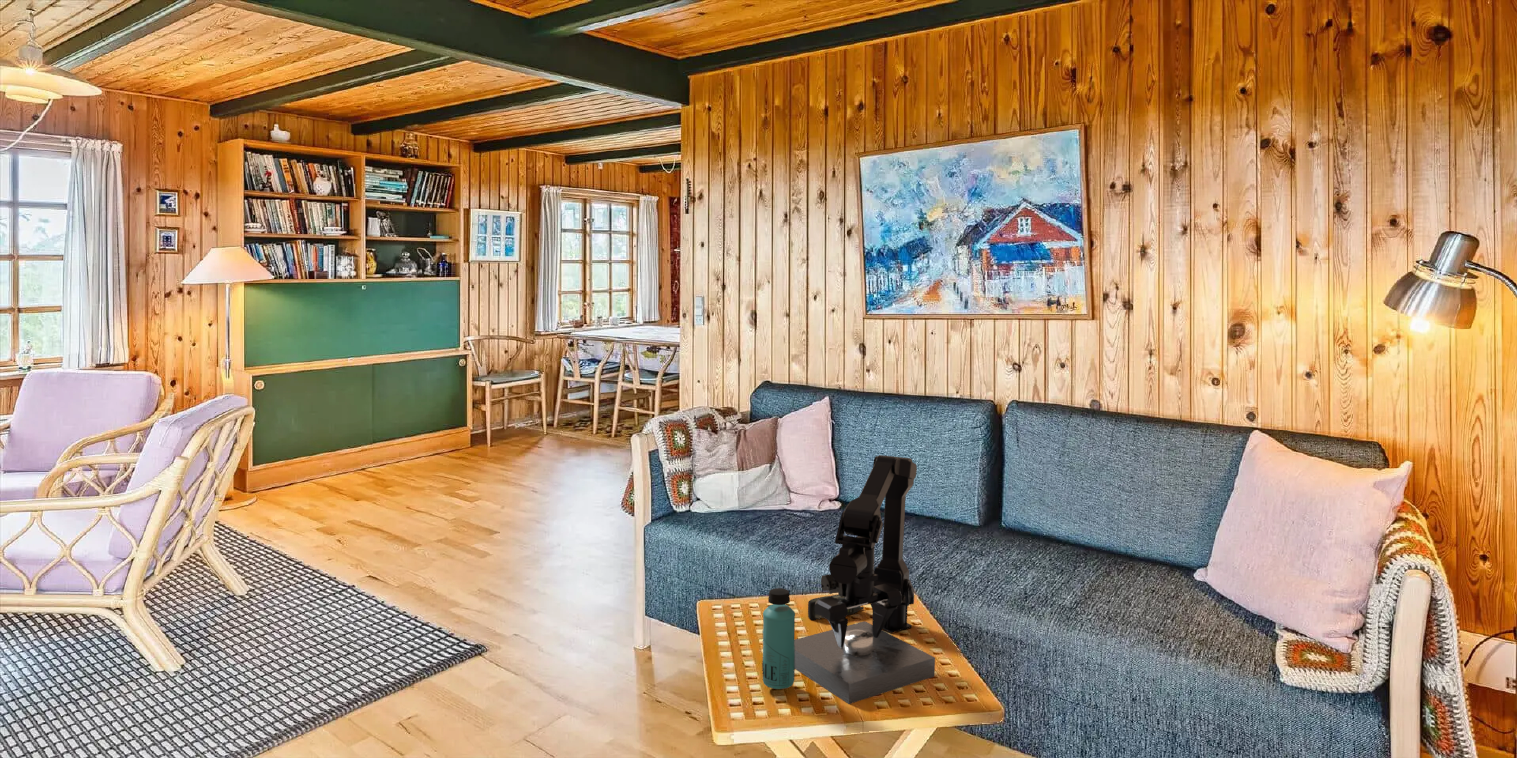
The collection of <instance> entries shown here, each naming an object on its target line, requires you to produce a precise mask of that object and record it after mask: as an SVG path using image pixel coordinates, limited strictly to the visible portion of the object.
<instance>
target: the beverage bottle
mask: <svg viewBox="0 0 1517 758" xmlns="http://www.w3.org/2000/svg"><path fill="white" fill-rule="evenodd" d="M767 600H768V603H769V604H770V605H768V606H767V607H766V608H765V609H764V610H763V613H762V617H763V618H762V620H763V621H762V622H763V624H762V660H761V662H762V663H761V668H762V669H761V675H762V678H761V679H762V682H763V684H764V685H765V686H766V688H767V687H768V688H770V689H775V690H783V689H788V688H790V687H792V686H793V685H794V684H795V683H794V682H795V681H796V679H795V678H796V676H795V668H794V666H795V647H794V640H795V631H796V630H795V629H796V627H795V625H796V624H795V623H796V622H795V620H796V618H795V617H796V612H795V611H794V610H793V608H791V606H789V605H787V604H789V603H790V602H791V599H790V591H789V590H788V589H786V588H783V587H782V588H781V587H777V588H771V589H770V590H769V592H768V599H767Z"/></svg>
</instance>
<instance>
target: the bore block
mask: <svg viewBox="0 0 1517 758" xmlns="http://www.w3.org/2000/svg"><path fill="white" fill-rule="evenodd" d="M849 630H864V631H868V632H870V633H871V634H872V635H873V630H872V624H871V623H869V622H868V621H866V620H864V621H861V622H856V623H853V624H849V625H848V624H847V630H846V631H849ZM794 647H795V666H794V670H795V671H798V672H799V673H801V674H802V675H803V676H805V677H806V678H808V679H809V680H811V681H813V682H814V683H816V684H817V685H819V686H821V687H822V688H824V689H825V690H826V691H828V692H830V693H831V694H833V695H834V696H836V697H837V698H839V699H840V700H842V701H843V702H845V703H846V704H848V705H850V704H853V703H857V702H860V701H863V700H866V699H869V698H871V697H875V696H880V695H882V694H885V693H887V692H891V691H894V690H897V689H900V688H903V687H906V686H911V685H912V684H915V683H918V682H921V681H924V680H927V679H928V680H929V679H931V678H934V677H935V673H936V672H935V669H936V657H935V656H933V655H931V654H929V653H927V652H925V651H923V650H921V649H919V648H917V647H916V646H913V645H912V644H909V643H907V642H906V641H904V640H902V639H900V638H898V637H896V636H894V635H892V633H890V632H888V631H886V630H884V629H882V631H881V632H880V634H879V636H878V638H875V637H873V651H872V653H870V654H868V655H864V656H858V657H855V656H853V655H851V654H848V653H846V652H845V651H844V650H843V647H842V648H840V647H839V646H838V644H837V641H836V638H835V635H834V633H833V630H832V629H830V630H826V631H822V632H818V633H814V634H811V635H807V636H803V637H800V638H796V639H795V638H794Z"/></svg>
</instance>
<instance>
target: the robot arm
mask: <svg viewBox="0 0 1517 758" xmlns="http://www.w3.org/2000/svg"><path fill="white" fill-rule="evenodd" d="M917 467H918V466H917V464H916V463H915V462H913V459H912V458H909V457H901V456H900V457H899V456H891V455H881V454H880V455H876V456H875V457H874V459H873V464H872V468H871V471H870V473H869V475H868V478H867V479H866V481H865V484H864V486H863V488H862V490H861V492H860V495H859V496H858V497H856V498H853V499H852V500H850V501H849V503H848V504H847V505H846V507H845V509H844V510H843V512H842V513H841V516H840V519H839V523H838V527H837V532H836V536H835V540H834V543H835V544H838V545H841V546H840V548H839V550H838V554H837V555H835V556H834V557H833V558H832V559H831V560H830V563H829V567H828V570H829V574H823V575H821V577H820V578H821V579H820V587H821V589H822V591H824V592H828V594H829V595H830V596H831V597H827V598H823V599H818V600H817V601H816V602H815V613H816V614H818V615H820V616H822V617H823V618H824V619H825V620H827V621H828V623H829V625H830V627H831V630H833V633H834V635H835V638H836V641H837V644H838V646H839V647H840V648H842V647H843V645H844V641H845V636H846V630H847V626H848V623H849V618H846V617H847V616H848V615H847V614H848V609H851V608H855V607H859V606H861V607H864V606H866V605H870V608H871V609H872V624H871V625H872V630H873V637H875V638H878V636H879V634H880V632H881V631H882V630H883V631H885V632H887V633H889V634H893V633H896V632H900V631H904V630H908V629H911V628H912V624H911V623H908V607H909V606H910V605H914V603H915V589H914V585H913V583H912V581H911V579H910V570H909V567H908V566H907V564H906V562H905V560H904V558H903V554H904V535H905V534H904V533H905V518H906V517H905V514H906V497H907V495H908V493H909V492H910V490H911V489H912V488H913V486H914V482H915V481H914V480H915V479H916V478H917V471H918V469H917ZM883 502H884V511H883V513H884V514H883V521H882V516H881V510H880V509H881V508H882V505H883ZM882 529H883V532H882ZM881 533H883V534H882V554H881V555H882V557H881V560H880V561H879V563H878V565H876V567H875V546H876V544H879V543H878V542H879V539H880V537H881ZM845 534H846V535H845ZM835 593H838V594H837V595H839V596H841V597H845V599H846V600H842V601H840V600H838V599H836V598H834V597H832V595H833V594H835Z"/></svg>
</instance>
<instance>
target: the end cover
mask: <svg viewBox="0 0 1517 758" xmlns="http://www.w3.org/2000/svg"><path fill="white" fill-rule="evenodd" d="M843 650H844V651H845V652H846V653H848V654H851V655H853V656H855V657H858V656H864V655H868V654H870V653H872V651H873V635H872V634H871V633H870V632H868V631H864V630H849V631H846V636H845V641H844V645H843Z"/></svg>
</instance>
